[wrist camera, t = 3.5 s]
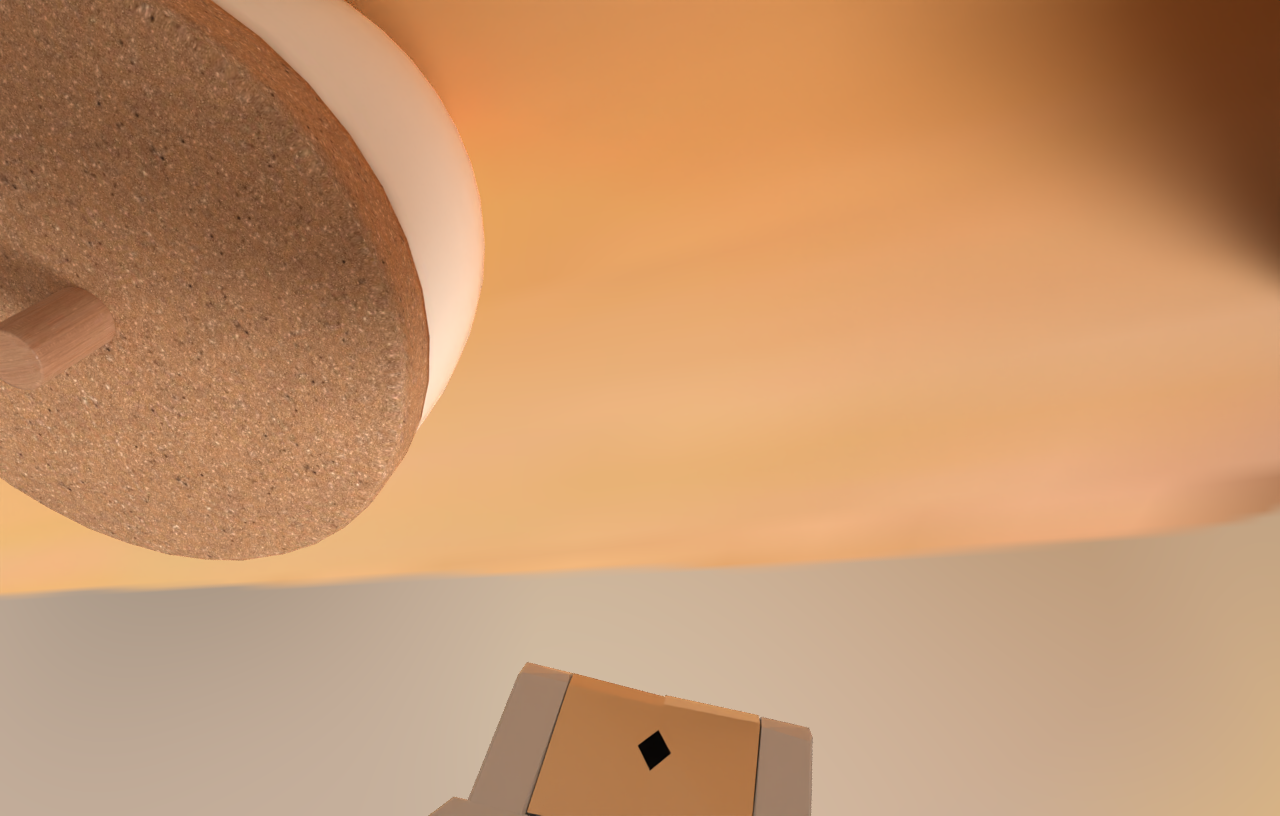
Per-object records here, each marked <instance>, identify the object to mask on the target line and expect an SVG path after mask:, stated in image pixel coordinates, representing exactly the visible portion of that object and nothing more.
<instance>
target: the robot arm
mask: <svg viewBox="0 0 1280 816" xmlns="http://www.w3.org/2000/svg"><path fill="white" fill-rule="evenodd" d="M812 743H813V738H812V735H811V732H810V729H809V728H807V727H802V726H798V725H794V724H790V723H786V722H781V721H777V720H773V719H768V718H764V717H761V718H759V716H758V715H755V714H750V713H746V712H741V711H736V710H731V709H727V708H723V707H718V706H713V705H709V704H704V703H700V702H695V701H690V700H685V699H681V698H676V697H672V696H667V695H666V696H665V697H664V696H660V695H656V694H652V693H648V692H644V691H640V690H637V689H633V688H629V687H625V686H621V685H617V684H613V683H609V682H606V681H601V680H598V679H594V678H590V677H586V676H582V675H579V674H575V673H574V674H573V673H570V672H566V671H561V670H557V669H553V668H549V667H545V666H541V665H537V664H533V663H529V662H527V663H526V664H525V666H524V667H523V669H522V670H521V672H520V673H519V674H518V677H517V679H516V681H515V684H514V686H513V689H512V691H511V694H510V696H509V699H508V701H507V704H506V706H505V709H504V711H503V714H502V716H501V719H500V721H499V724H498V726H497V729H496V731H495V734H494V736H493V739H492V741H491V744H490V746H489V749H488V751H487V754H486V756H485V759H484V761H483V764H482V766H481V769H480V771H479V774H478V776H477V779H476V781H475V784H474V786H473V789H472V791H471V793H470V796H469V798H468V800H466V799H462V798H457V797H453V798H451V799H450V800H449V801H447V802H446V803H445V804H443V805H442V806H441V807H439V808H438V809H437V810H436V811H434V812H433V813H431V814H430V815H429V816H811V796H812Z"/></svg>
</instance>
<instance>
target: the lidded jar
mask: <svg viewBox="0 0 1280 816" xmlns="http://www.w3.org/2000/svg"><path fill="white" fill-rule="evenodd" d="M484 250H485V244H484V229H483V219H482V210H481V201H480V195H479V191H478V187H477V184H476V180H475V176H474V172H473V168H472V164H471V161H470V159H469V156H468V154H467V151H466V149H465V147H464V144H463V142H462V139H461V137H460V134H459V132H458V130H457V127H456V125H455V124H454V122H453V120H452V118H451V117H450V115H449V113H448V111H447V110H446V108H445V106H444V104H443V103H442V101H441V99H440V97H439V96H438V94H437V92H436V91H435V90H434V88H433V87H432V86H431V84H430V83H429V82H428V80H427V79H426V78H425V76H424V75H423V74H422V73H421V71H420V70H419V69H418V67H417V66H416V65H415V63H414V62H413V61H412V59H411V58H410V57H409V56H408V55H407V54H406V53H405V52H404V51H403V50H402V49H401V48H400V47H399V46H398V45H397V44H396V43H395V42H394V41H393V40H392V39H391V38H390V37H389V36H388V35H387V34H386V33H385V32H384V31H383V30H382V29H381V28H379V27H378V26H377V25H376V24H374V23H373V22H372V21H370V20H369V19H368V18H367V17H365V16H364V15H363V14H361V13H360V12H359V11H357V10H356V9H355V8H354V7H352V6H351V5H350V4H348V3H347V2H345V1H344V0H0V477H1V478H2V479H3V480H5V481H6V482H7V483H9V484H10V485H12V486H13V487H15V488H17V489H18V490H20V491H22V492H23V493H25V494H27V495H28V496H30V497H32V498H33V499H35V500H37V501H38V502H40V503H41V504H43V505H45V506H46V507H48V508H50V509H52V510H54V511H56V512H58V513H60V514H62V515H64V516H65V517H67V518H69V519H71V520H73V521H75V522H77V523H79V524H81V525H83V526H85V527H87V528H89V529H92V530H94V531H97V532H100V533H102V534H105V535H108V536H110V537H113V538H116V539H118V540H121V541H124V542H127V543H129V544H133V545H136V546H140V547H144V548H147V549H151V550H154V551H158V552H161V553H165V554H169V555H177V556H184V557H192V558H199V559H211V560H248V559H254V558H261V557H267V556H274V555H281V554H285V553H288V552H291V551H295V550H298V549H301V548H304V547H307V546H310V545H313V544H316V543H318V542H319V541H321V540H323V539H325V538H327V537H328V536H330V535H332V534H334V533H335V532H337V531H339V530H341V529H343V528H344V527H345V526H347V525H348V524H349V523H350V522H351V521H352V520H353V519H354V518H356V517H357V516H358V515H359V514H360V513H361V512H362V511H363V510H365V509H366V508H367V507H368V506H369V505H370V504H371V502H372V501H373V500H374V499H375V497H376V496H377V495H378V493H379V492H380V490H381V489H382V488H383V486H384V485H385V483H386V482H387V481H388V479H389V478H390V476H391V475H392V474H393V472H394V471H395V469H396V468H397V467H398V465H399V464H400V462H401V461H402V460H403V458H404V456H405V455H406V453H407V451H408V449H409V446H410V444H411V442H412V439H413V437H414V434H415V433H416V431H417V430H418V429H419V427H420V426H421V424H422V423H423V421H424V420H425V419H426V417H427V416H428V414H429V413H430V411H431V410H432V408H433V407H434V405H435V404H436V402H437V401H438V399H439V398H440V396H441V395H442V393H443V392H444V390H445V388H446V386H447V384H448V382H449V379H450V377H451V375H452V373H453V371H454V369H455V367H456V365H457V363H458V360H459V358H460V356H461V354H462V351H463V349H464V347H465V344H466V342H467V340H468V338H469V335H470V331H471V328H472V324H473V321H474V317H475V313H476V309H477V305H478V300H479V296H480V292H481V287H482V283H483V269H484Z"/></svg>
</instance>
